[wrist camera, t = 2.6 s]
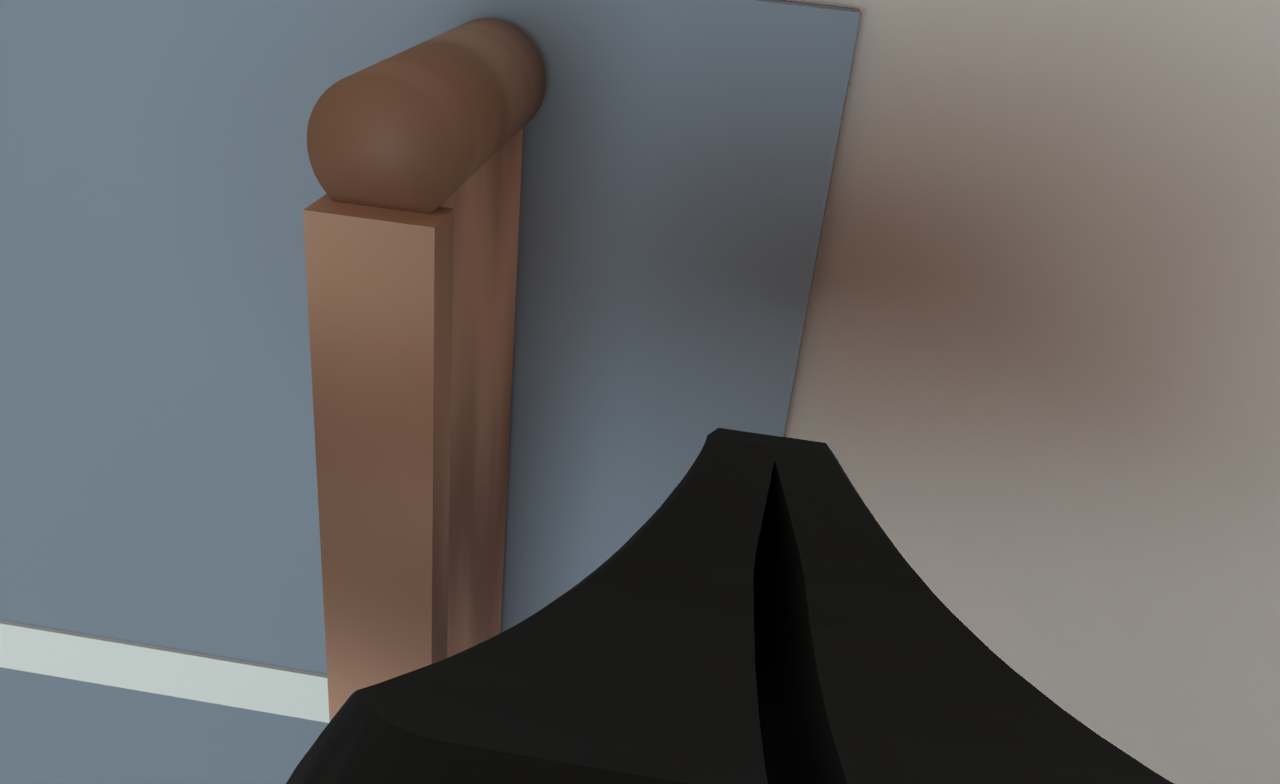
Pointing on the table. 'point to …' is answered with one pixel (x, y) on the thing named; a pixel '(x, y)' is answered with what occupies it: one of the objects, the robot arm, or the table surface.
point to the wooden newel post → (415, 345)
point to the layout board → (280, 342)
